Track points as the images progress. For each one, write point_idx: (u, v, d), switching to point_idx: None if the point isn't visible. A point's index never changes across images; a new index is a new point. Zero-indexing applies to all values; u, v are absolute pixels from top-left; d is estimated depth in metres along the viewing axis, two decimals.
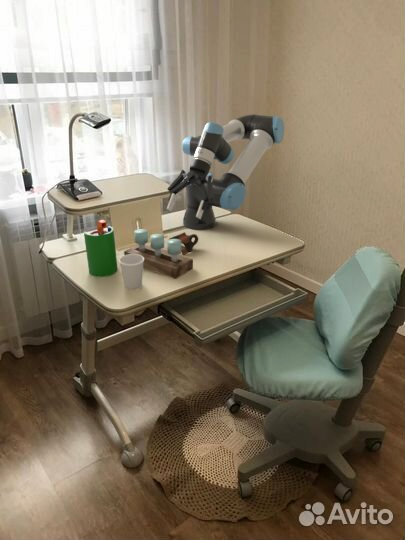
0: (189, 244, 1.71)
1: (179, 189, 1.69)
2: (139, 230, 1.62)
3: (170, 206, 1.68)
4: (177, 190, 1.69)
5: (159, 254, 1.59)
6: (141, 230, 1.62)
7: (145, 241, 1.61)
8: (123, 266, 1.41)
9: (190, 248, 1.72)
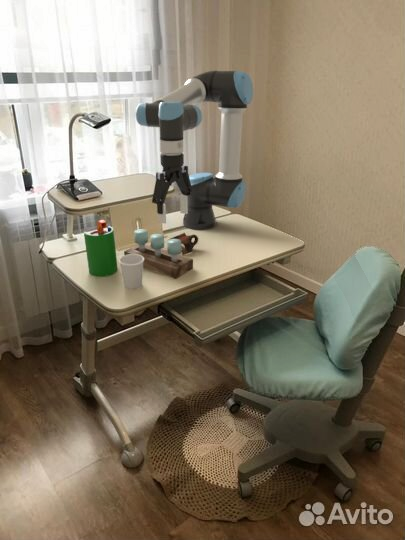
0: (189, 244, 1.71)
1: None
2: (139, 230, 1.62)
3: None
4: None
5: (159, 254, 1.59)
6: (141, 230, 1.62)
7: (145, 241, 1.61)
8: (123, 266, 1.41)
9: (190, 248, 1.71)
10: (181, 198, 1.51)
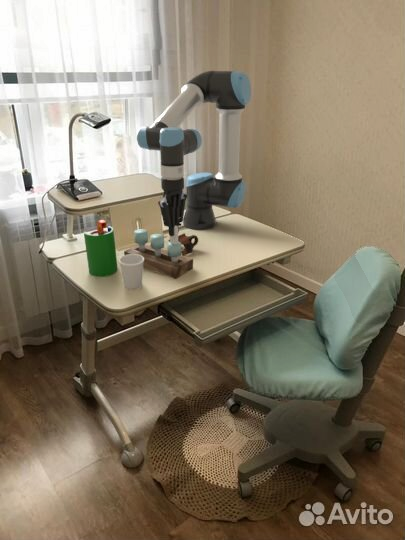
0: (189, 245, 1.70)
1: None
2: (139, 230, 1.62)
3: None
4: None
5: (159, 254, 1.59)
6: (141, 230, 1.62)
7: (145, 241, 1.61)
8: (123, 266, 1.41)
9: (190, 249, 1.71)
10: None
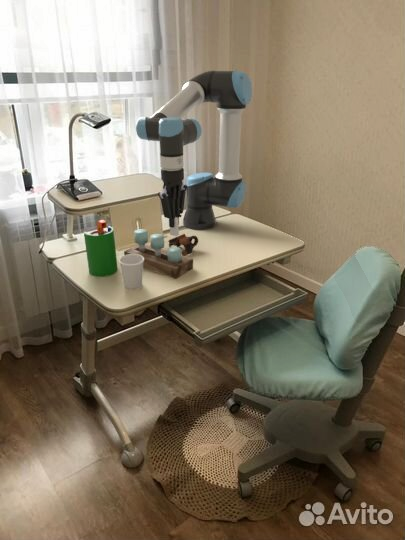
0: (189, 246, 1.70)
1: None
2: (139, 230, 1.62)
3: None
4: None
5: (159, 254, 1.59)
6: (141, 230, 1.62)
7: (145, 241, 1.61)
8: (123, 266, 1.41)
9: (190, 250, 1.70)
10: None
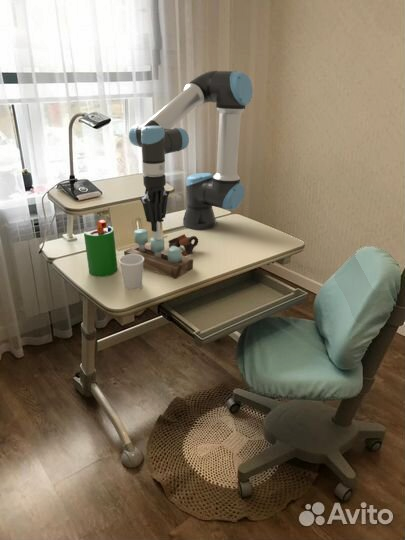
0: (189, 246, 1.69)
1: None
2: (139, 230, 1.62)
3: None
4: None
5: (159, 257, 1.60)
6: (141, 230, 1.62)
7: (145, 241, 1.61)
8: (123, 266, 1.41)
9: (190, 250, 1.70)
10: None
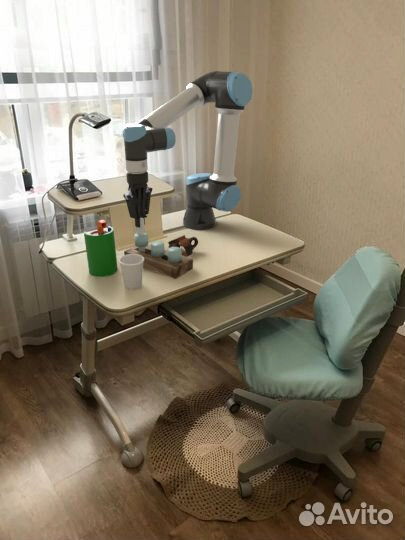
0: (189, 247, 1.69)
1: None
2: None
3: None
4: None
5: None
6: None
7: (145, 244, 1.62)
8: (123, 266, 1.41)
9: (190, 251, 1.69)
10: None
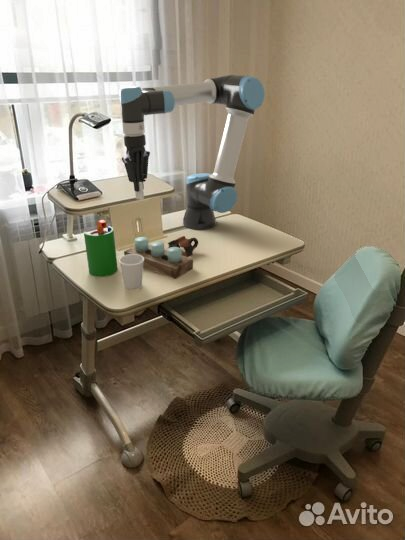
0: (189, 248, 1.68)
1: None
2: (140, 238, 1.63)
3: None
4: None
5: None
6: (141, 238, 1.63)
7: (145, 249, 1.63)
8: (123, 266, 1.41)
9: (190, 252, 1.68)
10: None
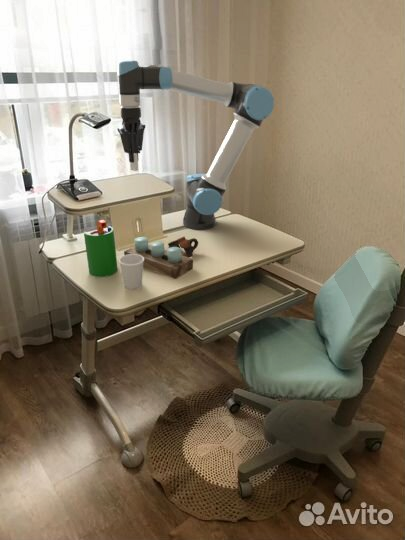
0: (189, 249, 1.67)
1: None
2: (140, 238, 1.63)
3: None
4: None
5: None
6: (141, 238, 1.63)
7: (145, 249, 1.63)
8: (123, 266, 1.41)
9: (190, 253, 1.68)
10: None
